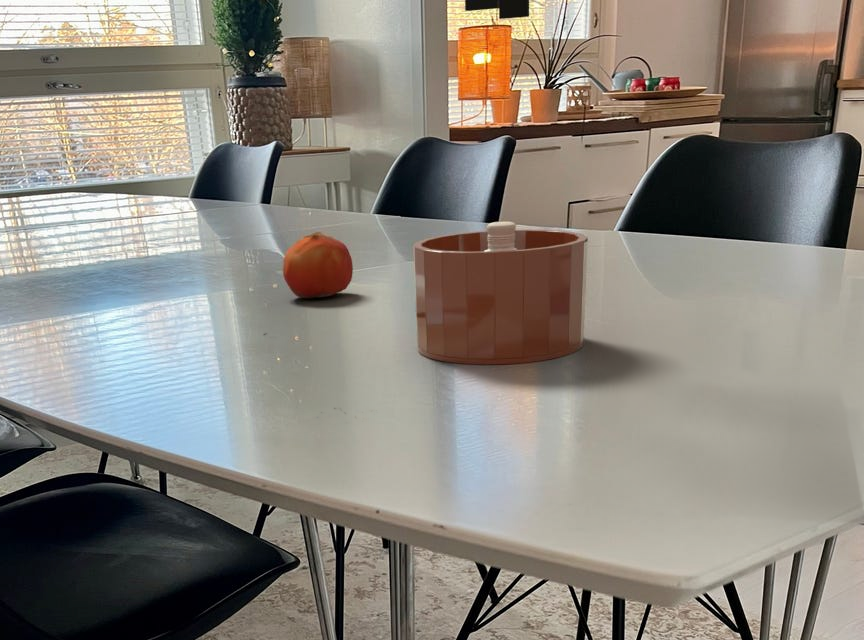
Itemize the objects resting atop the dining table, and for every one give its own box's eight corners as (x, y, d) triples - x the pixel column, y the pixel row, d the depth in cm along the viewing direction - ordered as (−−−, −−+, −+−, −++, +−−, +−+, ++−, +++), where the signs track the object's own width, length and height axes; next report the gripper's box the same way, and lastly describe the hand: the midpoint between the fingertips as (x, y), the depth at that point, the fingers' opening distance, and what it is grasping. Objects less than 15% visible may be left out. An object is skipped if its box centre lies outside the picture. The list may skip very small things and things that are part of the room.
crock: (592, 329, 108) (597, 228, 103) (569, 366, 94) (573, 251, 89) (440, 328, 113) (438, 231, 108) (397, 363, 99) (392, 253, 94)
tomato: (288, 305, 131) (281, 238, 127) (283, 294, 139) (277, 231, 135) (359, 299, 132) (355, 233, 128) (350, 288, 140) (346, 226, 136)
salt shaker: (522, 345, 100) (524, 225, 95) (469, 344, 102) (467, 227, 97) (532, 334, 105) (534, 219, 100) (480, 333, 106) (479, 220, 101)
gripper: (486, -252, 92) (487, 23, 101) (408, -350, 71) (419, 9, 81) (570, -266, 89) (563, 17, 99) (515, -371, 68) (513, 1, 78)
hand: (499, 14), depth 90 cm, fingers open, 13 cm apart
